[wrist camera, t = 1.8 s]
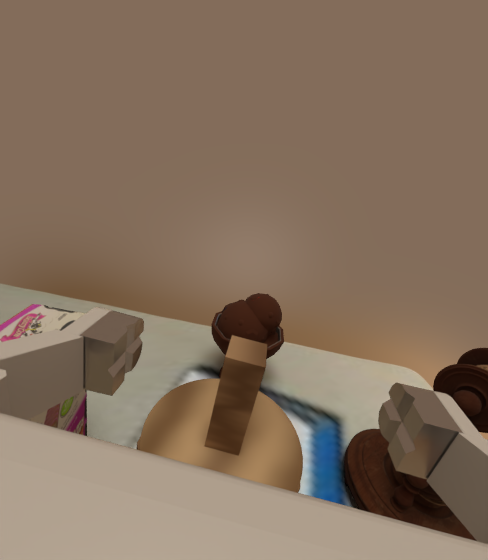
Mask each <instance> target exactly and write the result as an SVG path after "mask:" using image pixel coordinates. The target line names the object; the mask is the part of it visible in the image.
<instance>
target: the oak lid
mask: <svg viewBox="0 0 488 560" xmlns="http://www.w3.org/2000/svg"><path fill="white" fill-rule="evenodd" d="M266 355H267V344H264V343H260V342H256V341H253V340H249V339H245V338H241V337H237V336H233V335H232V337H231V340H230V343H229V347H228V350H227V353H226V356H225V360H224V365H223V369H222V373H221V377H220V379H202V380H196V381H192V382H189V383H186V384H183V385H181V386H179V387H177V388H175V389H173V390H172V391H170V392H169V393H167V394H166V395H165V396H164V397H163V398H161V399H160V400H159V401H158V403H157V404H156V405H155V406H154V407H153V409H152V410H151V412H150V413H149V415H148V417H147V419H146V421H145V423H144V427H143V430H142V434H141V437H140V439H139V440H138V442H137V450H140V451H144V452H148V453H151V454H155V455H159V456H162V457H166V458H170V459H174V460H177V461H181V462H185V463H188V464H192V465H196V466H200V467H203V468H207V469H211V470H215V471H218V472H222V473H226V474H229V475H233V476H237V477H241V478H244V479H248V480H252V481H255V482H259V483H263V484H267V485H270V486H274V487H278V488H282V489H285V490H289V491H293V492H296V493H298V492H299V489H300V480H301V476H302V468H303V456H302V449H301V445H300V441H299V438H298V435H297V433H296V430H295V428H294V427H293V425H292V423H291V421H290V420H289V418H288V417H287V415H286V414H285V413H284V412H283V410H282V409H281V408H280V407H279V406H278V405H277V404H276V403H275V402H274V401H273V400H271V399H270V398H269V397H267V396H266V395H265V394H263V393H261V392H260V391H259V387H260V384H261V381H262V377H263V374H264V371H265V368H266Z"/></svg>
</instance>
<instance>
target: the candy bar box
mask: <svg viewBox="0 0 488 560" xmlns="http://www.w3.org/2000/svg"><path fill="white" fill-rule="evenodd" d="M83 315H84V313H80V312H74V311H67V310H63V309H58V308H49V307H48V306H46V305H35V304H32V305H30V306H29V307H27V308H26V309H24V310H23V311H21V312H20V313H18V314H17V315H15V316H13V317H12V318H10V319H9V320H7V321H6V322H4V323H3V324H1V325H0V342H4V341H9V340H13V339H17V338H22V337H26V336H30V335H35V334H39V333H44V332H48V331H52V330H59V331H62V330H63V329H64V328H66V327H67V326H69V325H70V324H72V323H73V322H74V321H76V320H77V319H79V318H80V317H82V316H83ZM86 396H87V393H86V390H83V391H82V392H80V393H79V394H77V395H75V396H73V397H71V398H69V399H67V400H65V401H63V402H61V403H59V404H57V405H56V406H54V407H52V408H50V409H48V410H46V411H44V412H42V413H40V414H38V415H36V416H34V417H33V418H31V419H29V421H32V422H36V423H40V424H44V425H47V426H51V427H55V428H58V429H62V430H66V431H70V432H73V433H77V434H81V435H84V436H87V409H86V408H87V404H86Z"/></svg>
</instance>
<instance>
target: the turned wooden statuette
mask: <svg viewBox="0 0 488 560" xmlns="http://www.w3.org/2000/svg"><path fill="white" fill-rule="evenodd" d="M433 390H434V391H436V392H441V393H445V394H447V395H449V396H451V397H452V398H453V400H454V401H455V402H456V404H457V405H458V406H459V407H460V409H461V410H462V411H463V412H464V414H465V415H466V416H467V418H468V419H469V420H470V421H471V423H472V424H473V425H474V427H475V428H476V429H477V430H478V432H483V433H488V348H477V349H472V350H470V351H468V352H466V353H465V354H463V355H462V356H461V357H460V359H459V360H458V363H457V364H455V365H450V366H448V367H446V368H444V369H442V370H441V371H440V372H439V373H438V374H437V376H436V378H435V380H434V385H433ZM389 444H390V443H389V442H388V441H387V440H386V439H385V438H384V437H383V436H382V434H381V431H380V429H368V430H364V431H362V432H359V433H358V434H356V435H355V436H354V437H353V439H352V440H351V442H350V444H349V446H348V447H347V450H346V452H345V458H344V468H345V483H346V484H347V485H349V488H350V490H351V493H352V495H353V497H354V499H355V501H356V503H357V505H358V506H359V508H360V510H363V511H367V512H370V513H374V514H378V515H381V516H385V517H389V518H392V519H396V520H400V521H404V522H407V523H411V524H415V525H418V526H422V527H426V528H429V529H433V530H437V531H440V532H444V533H448V534H452V535H455V536H459V537H463V538H467V539H470V540H474V541H477V540H476V539H475V538H474V537H473V536H472V534H471V533H470V532H469V531H468V530H467V529H466V527H465V526H464V525H463V524H462V523H461V521H460V520H459V519H458V518H457V517H456V515H455V514H454V513H453V512H452V511H451V510H450V508H449V507H448V506H447V505H446V504H445V502H444V501H443V500H442V499H441V498H440V496H439V495H438V494H437V493H436V492H435V491H434V489H433V488H432V487H431V486H430V485H429V483H428V482H427V479H423V478H420V477H416V476H413V475H410V474H406V473H403V472H399V471H396V469H395V467H394V464H393V462H392V459H391V457H390V454H389V452H388V446H389Z"/></svg>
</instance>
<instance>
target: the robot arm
mask: <svg viewBox="0 0 488 560" xmlns="http://www.w3.org/2000/svg"><path fill="white" fill-rule="evenodd" d="M143 330H144V321H143V319H142V318H138V317H135V316H131V315H127V314H124V313H120V312H116V311H112V310H109V309H105V308H101V307H95V308H93V309H92V310H90V311H89V312H87V313H86V314H84V315H83V316H82V317H80V318H79V319H77V320H76V321H74V322H73V323H72V324H70V325H69V326H67V327H66V328H64V329H63V330H62V331H59V330H52V331H48V332H44V333H39V334H35V335H30V336H26V337H22V338H17V339H13V340H9V341H4V342H0V560H488V440H486V439H484V438H483V437H482V435H481V434H480V433H479V432H478V430H477V429H476V428H475V427H474V425H473V424H472V423H471V421H470V420H469V419H468V418H467V416H466V415H465V414H464V412H463V411H462V410H461V409H460V407H459V406H458V405H457V404H456V402H455V401H454V400H453V398H452V397H451V396H449V395H447V394H445V393H441V392H436V391H431V390H426V389H421V388H417V387H413V386H408V385H404V384H400V383H395V384H394V385H393V386H392V387H391V389H390V391H389V395H390V398H391V399H390V400H388V401H386V402H385V403H383V405H382V407H381V409H380V411H379V419H378V422H379V428H380V431H381V434H382V436H383V437H384V438H385V439H386V440H387V441H388V442H389V443H390V444H389V446H388V452H389V454H390V457H391V459H392V462H393V464H394V467H395V469H396V471H399V472H403V473H406V474H410V475H413V476H416V477H420V478H423V479H427V482H428V483H429V485H430V486H431V487H432V488H433V489H434V491H435V492H436V493H437V494H438V495H439V496H440V498H441V499H442V500H443V501H444V502H445V504H446V505H447V506H448V507H449V508H450V510H451V511H452V512H453V513H454V514H455V515H456V517H457V518H458V519H459V520H460V521H461V523H462V524H463V525H464V526H465V527H466V529H467V530H468V531H469V532H470V533H471V534H472V536H473V537H474V538H475V539H476V540H477V541H474V540H470V539H467V538H463V537H459V536H455V535H452V534H448V533H444V532H440V531H437V530H433V529H429V528H426V527H422V526H418V525H415V524H411V523H407V522H404V521H400V520H396V519H392V518H389V517H385V516H381V515H378V514H374V513H370V512H367V511H363V510H359V509H356V508H352V507H348V506H345V505H341V504H337V503H333V502H330V501H326V500H322V499H319V498H315V497H311V496H308V495H304V494H300V493H296V492H293V491H289V490H285V489H282V488H278V487H274V486H270V485H267V484H263V483H259V482H255V481H252V480H248V479H244V478H241V477H237V476H233V475H229V474H226V473H222V472H218V471H215V470H211V469H207V468H203V467H200V466H196V465H192V464H188V463H185V462H181V461H177V460H174V459H170V458H166V457H162V456H159V455H155V454H151V453H148V452H144V451H140V450H136V449H133V448H129V447H125V446H122V445H118V444H114V443H110V442H107V441H103V440H99V439H96V438H92V437H88V436H84V435H81V434H77V433H73V432H70V431H66V430H62V429H58V428H55V427H51V426H47V425H44V424H40V423H36V422H32V421H29V419H31V418H33V417H34V416H36V415H38V414H40V413H42V412H44V411H46V410H48V409H50V408H52V407H54V406H56V405H57V404H59V403H61V402H63V401H65V400H67V399H69V398H71V397H73V396H75V395H77V394H79V393H80V392H82V391H83V390H89V391H93V392H97V393H102V394H106V395H110V396H112V395H113V394H114V393H115V391H116V390H117V389H118V388H119V386H120V385H121V384H122V382H123V381H124V375H125V373H127V372H129V371H132V369H133V368H134V367H135V365H136V363H137V361H138V359H139V357H140V354H141V350H142V341H141V339H140V337H139V335H140V334H141V333H142V332H143Z"/></svg>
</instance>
